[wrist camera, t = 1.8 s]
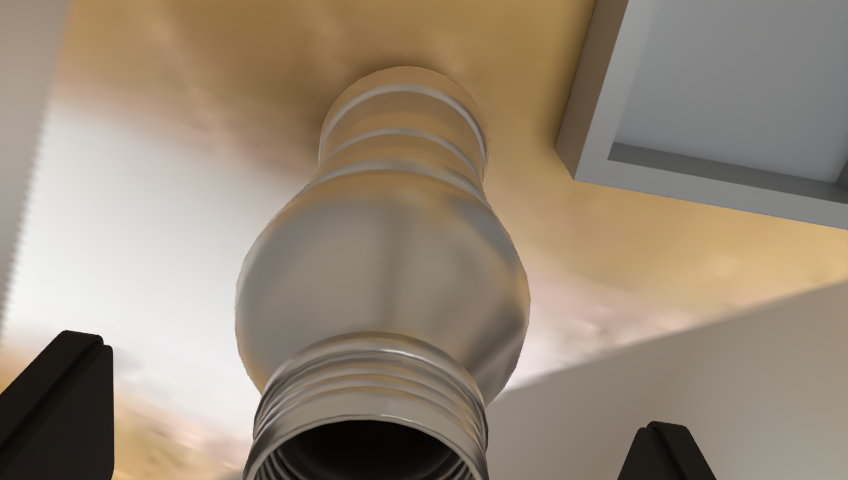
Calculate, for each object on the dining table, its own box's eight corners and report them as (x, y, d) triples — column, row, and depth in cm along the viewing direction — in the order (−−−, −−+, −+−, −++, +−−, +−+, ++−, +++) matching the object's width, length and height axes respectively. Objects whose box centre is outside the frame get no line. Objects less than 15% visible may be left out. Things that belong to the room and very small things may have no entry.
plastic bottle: (501, 176, 28) (634, 597, 10) (358, 219, 29) (249, 677, 11) (458, 32, 26) (539, 255, 8) (303, 85, 27) (44, 395, 8)
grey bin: (675, -275, 21) (726, -318, 18) (1027, -189, 22) (1142, -214, 19) (554, 148, 28) (573, 179, 24) (832, 200, 29) (891, 237, 25)
